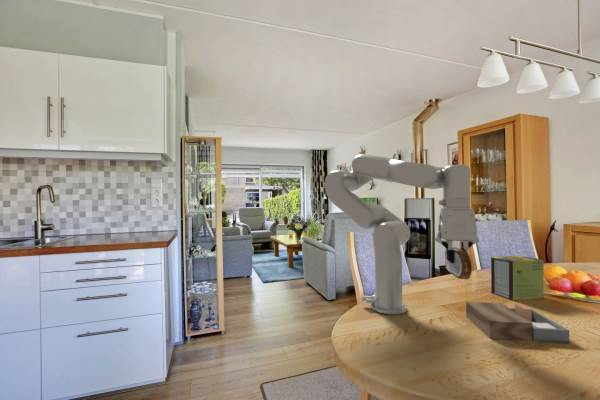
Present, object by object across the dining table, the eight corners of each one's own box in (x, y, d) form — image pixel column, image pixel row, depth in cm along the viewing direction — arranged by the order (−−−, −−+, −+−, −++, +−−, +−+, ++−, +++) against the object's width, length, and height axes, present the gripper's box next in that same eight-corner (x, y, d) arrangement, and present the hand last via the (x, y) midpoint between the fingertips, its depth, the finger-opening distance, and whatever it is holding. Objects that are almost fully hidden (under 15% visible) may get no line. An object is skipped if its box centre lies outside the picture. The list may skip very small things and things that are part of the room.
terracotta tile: (524, 309, 91) (531, 309, 91) (514, 303, 96) (521, 303, 96) (524, 325, 91) (531, 325, 91) (514, 318, 96) (521, 318, 96)
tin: (471, 282, 85) (473, 253, 84) (460, 281, 85) (462, 252, 85) (452, 270, 99) (453, 245, 99) (442, 269, 100) (444, 244, 100)
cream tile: (560, 330, 83) (560, 337, 83) (547, 323, 88) (547, 329, 88) (540, 329, 83) (540, 336, 83) (529, 322, 88) (529, 328, 88)
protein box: (544, 298, 118) (544, 259, 118) (513, 301, 114) (512, 261, 114) (519, 290, 128) (519, 254, 128) (490, 292, 125) (490, 256, 125)
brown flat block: (490, 338, 84) (490, 321, 84) (466, 316, 99) (466, 301, 99) (532, 340, 82) (532, 323, 82) (501, 318, 98) (501, 303, 98)
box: (533, 341, 82) (533, 328, 82) (502, 318, 98) (502, 307, 98) (569, 343, 81) (569, 330, 81) (531, 319, 97) (531, 308, 97)
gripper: (433, 204, 90) (433, 264, 90) (490, 204, 87) (490, 265, 87) (426, 204, 97) (426, 259, 97) (478, 204, 95) (478, 260, 95)
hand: (456, 261), depth 92 cm, fingers closed on tin, 2 cm apart
